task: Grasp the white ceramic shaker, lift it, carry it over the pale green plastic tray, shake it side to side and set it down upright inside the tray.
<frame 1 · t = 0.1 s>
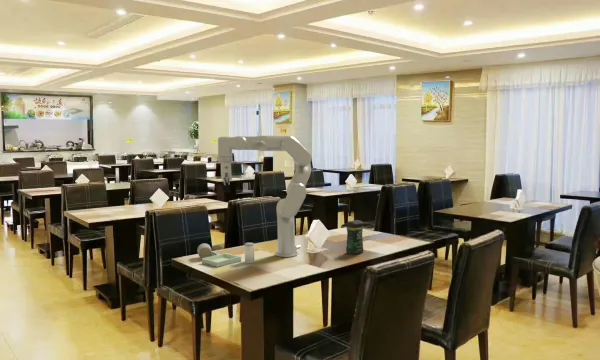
hand: (226, 191, 262), 37 cm above the table, tool pointing down, fingers open, 9 cm apart
ceramic mug: (207, 258, 268), on the table
tray: (221, 262, 258), on the table
coffee jar: (354, 253, 275), on the table
shaker: (249, 262, 258), on the table
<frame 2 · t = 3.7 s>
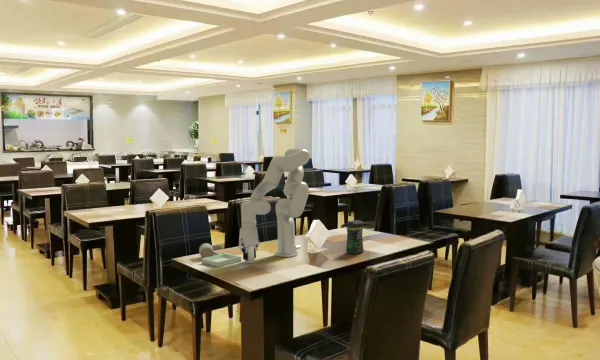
hand: (249, 258, 258), 2 cm above the table, tool pointing down, fingers closed on shaker, 5 cm apart
shaker: (249, 262, 258), on the table, touching gripper
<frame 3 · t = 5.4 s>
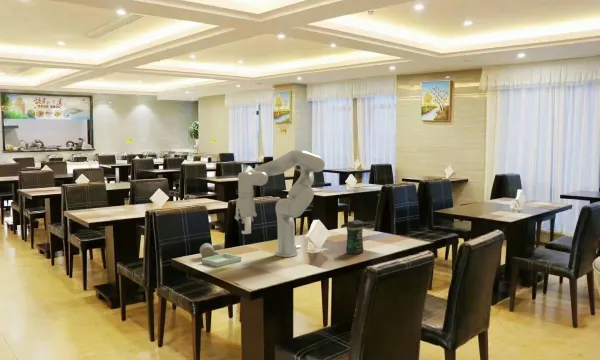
hand: (246, 229, 256), 18 cm above the table, tool pointing down, fingers closed on shaker, 5 cm apart
shaker: (246, 233, 256), point 16 cm above the table, touching gripper
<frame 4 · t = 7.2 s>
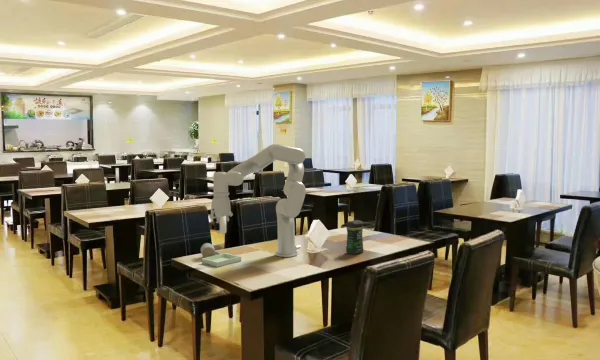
hand: (221, 229, 257), 18 cm above the table, tool pointing down, fingers closed on shaker, 5 cm apart
shaker: (221, 232, 257), point 16 cm above the table, touching gripper
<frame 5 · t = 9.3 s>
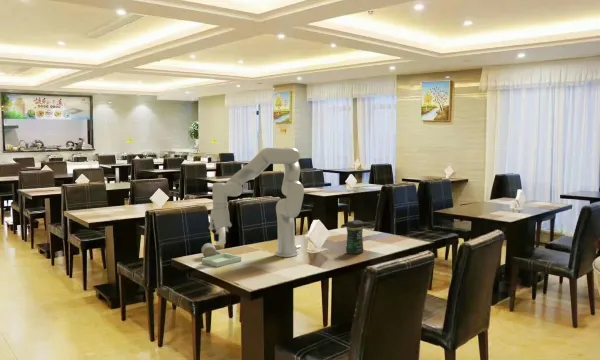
hand: (220, 239, 257), 12 cm above the table, tool pointing down, fingers closed on shaker, 5 cm apart
shaker: (220, 243, 257), point 10 cm above the table, touching gripper
when the fingers open (4 cm above the table, at t = 11.1 s): shaker drops 1 cm, resting on tray.
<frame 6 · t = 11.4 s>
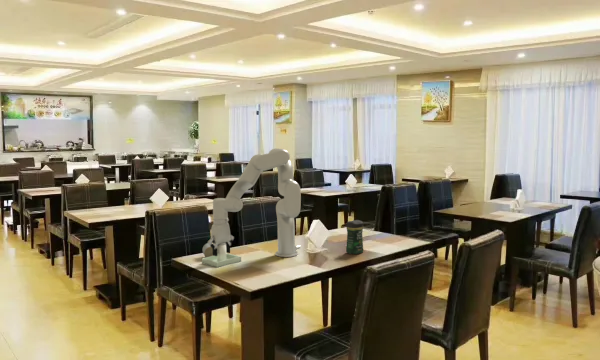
hand: (221, 254, 257), 4 cm above the table, tool pointing down, fingers open, 8 cm apart
shaker: (222, 261, 258), point 1 cm above the table, touching tray
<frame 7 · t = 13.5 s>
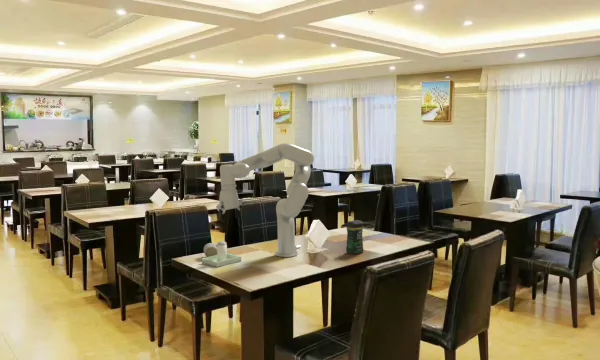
hand: (230, 219, 259), 22 cm above the table, tool pointing down, fingers open, 9 cm apart
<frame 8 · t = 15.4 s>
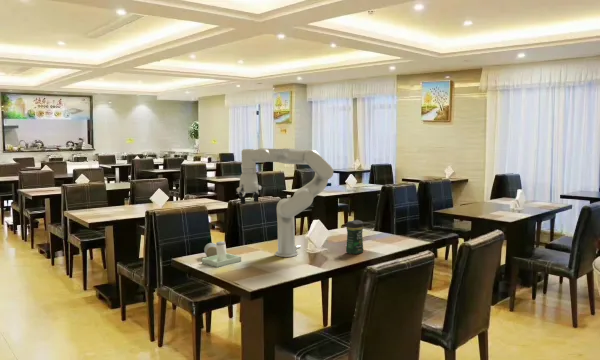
hand: (249, 202, 266), 30 cm above the table, tool pointing down, fingers open, 9 cm apart
at the end: shaker inside the target area on the tray (0.2 cm from its centre), point 0.7 cm above the tray's base; shaker tilted 3°; the gripper is holding nothing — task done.
